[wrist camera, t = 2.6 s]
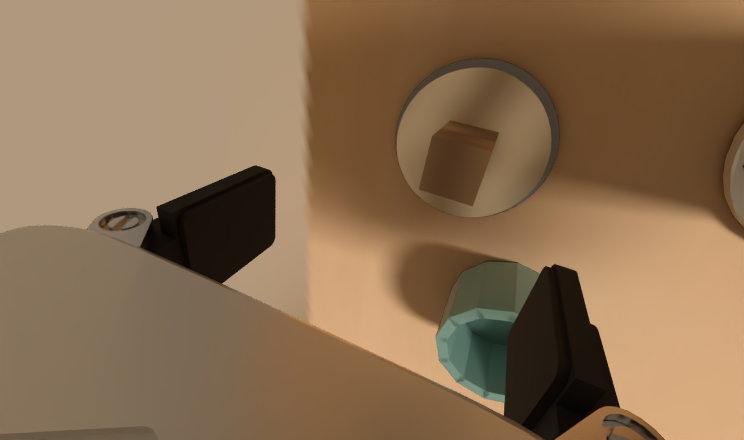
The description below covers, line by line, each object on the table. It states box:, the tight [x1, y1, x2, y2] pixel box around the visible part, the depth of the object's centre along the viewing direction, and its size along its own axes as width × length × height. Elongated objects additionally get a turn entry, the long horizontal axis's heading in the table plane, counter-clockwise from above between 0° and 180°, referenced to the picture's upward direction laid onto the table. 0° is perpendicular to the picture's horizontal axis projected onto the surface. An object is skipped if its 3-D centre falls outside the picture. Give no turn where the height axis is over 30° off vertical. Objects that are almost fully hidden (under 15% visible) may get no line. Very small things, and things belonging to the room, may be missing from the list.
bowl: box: [436, 261, 540, 403], centre depth 25 cm, size 9×9×6 cm
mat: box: [396, 59, 559, 215], centre depth 23 cm, size 11×11×1 cm
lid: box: [397, 67, 551, 217], centre depth 20 cm, size 10×10×6 cm
